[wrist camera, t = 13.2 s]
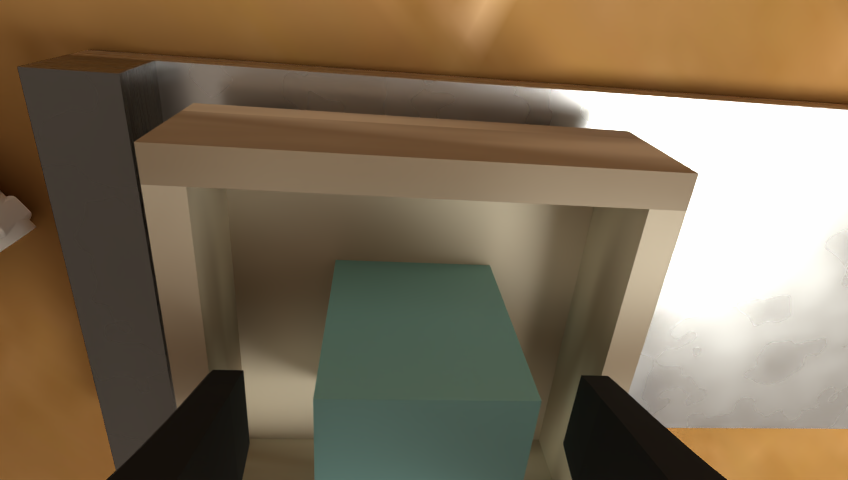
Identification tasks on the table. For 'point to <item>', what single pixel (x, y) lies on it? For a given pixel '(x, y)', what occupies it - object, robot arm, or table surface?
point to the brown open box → (399, 247)
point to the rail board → (504, 103)
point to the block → (421, 377)
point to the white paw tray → (13, 220)
